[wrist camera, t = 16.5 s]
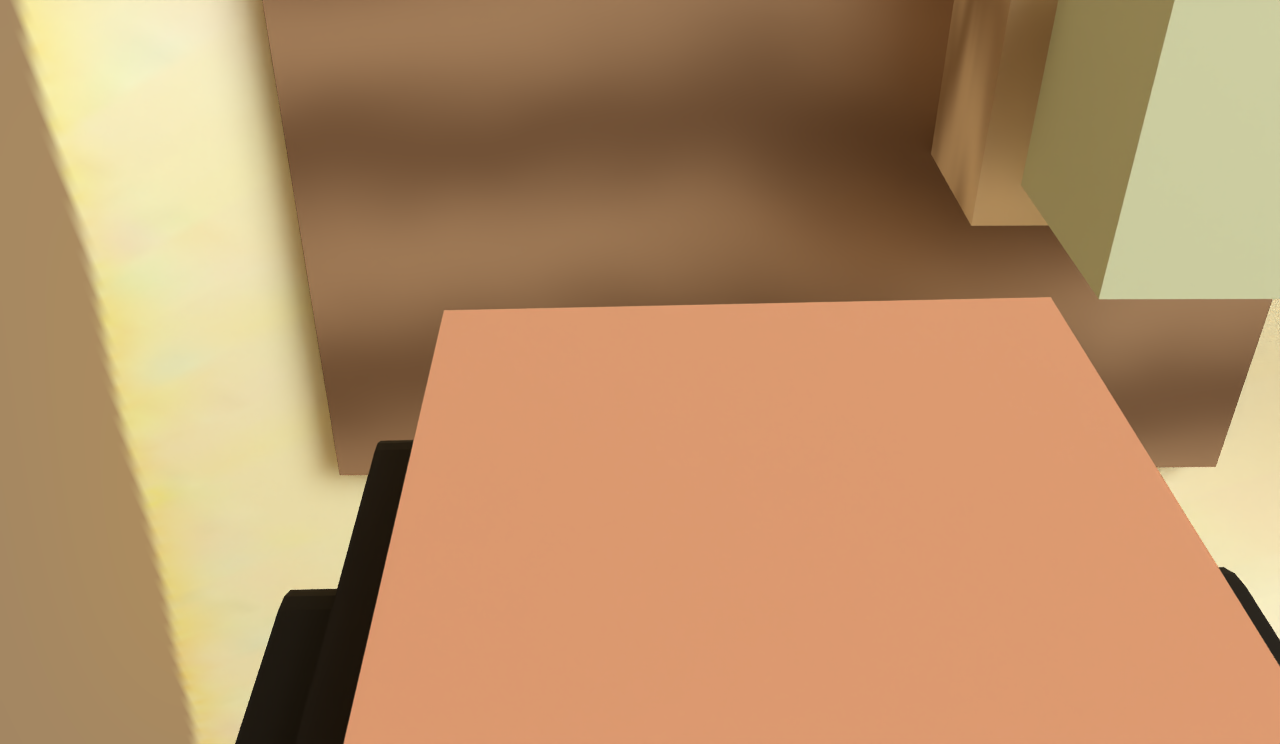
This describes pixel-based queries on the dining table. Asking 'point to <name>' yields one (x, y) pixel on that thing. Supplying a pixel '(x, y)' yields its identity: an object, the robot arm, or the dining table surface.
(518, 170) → the walnut board
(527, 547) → the terracotta block
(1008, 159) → the birch base block
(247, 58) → the dining table surface
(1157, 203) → the green block
